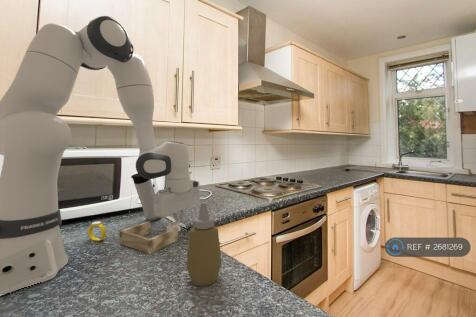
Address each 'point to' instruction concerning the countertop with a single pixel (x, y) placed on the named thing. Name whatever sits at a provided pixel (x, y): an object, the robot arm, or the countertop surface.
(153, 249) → the box
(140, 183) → the travel mug
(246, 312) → the countertop surface
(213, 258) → the squeeze bottle
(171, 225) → the pale pinkish lump
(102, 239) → the watch
